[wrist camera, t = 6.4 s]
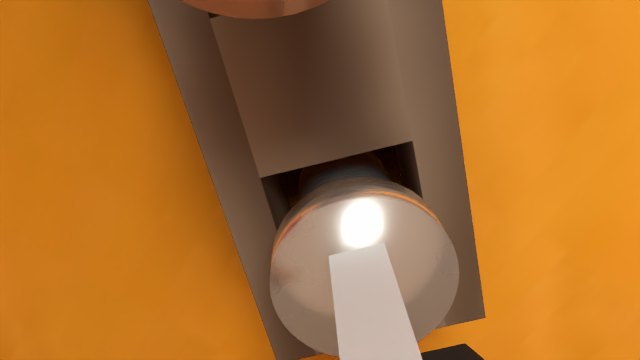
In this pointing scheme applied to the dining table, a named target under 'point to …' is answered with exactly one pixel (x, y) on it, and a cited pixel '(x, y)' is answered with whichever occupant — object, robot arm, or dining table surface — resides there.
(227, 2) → the plug mid terracotta
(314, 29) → the brown long block
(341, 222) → the cream plug
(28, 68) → the dining table surface
